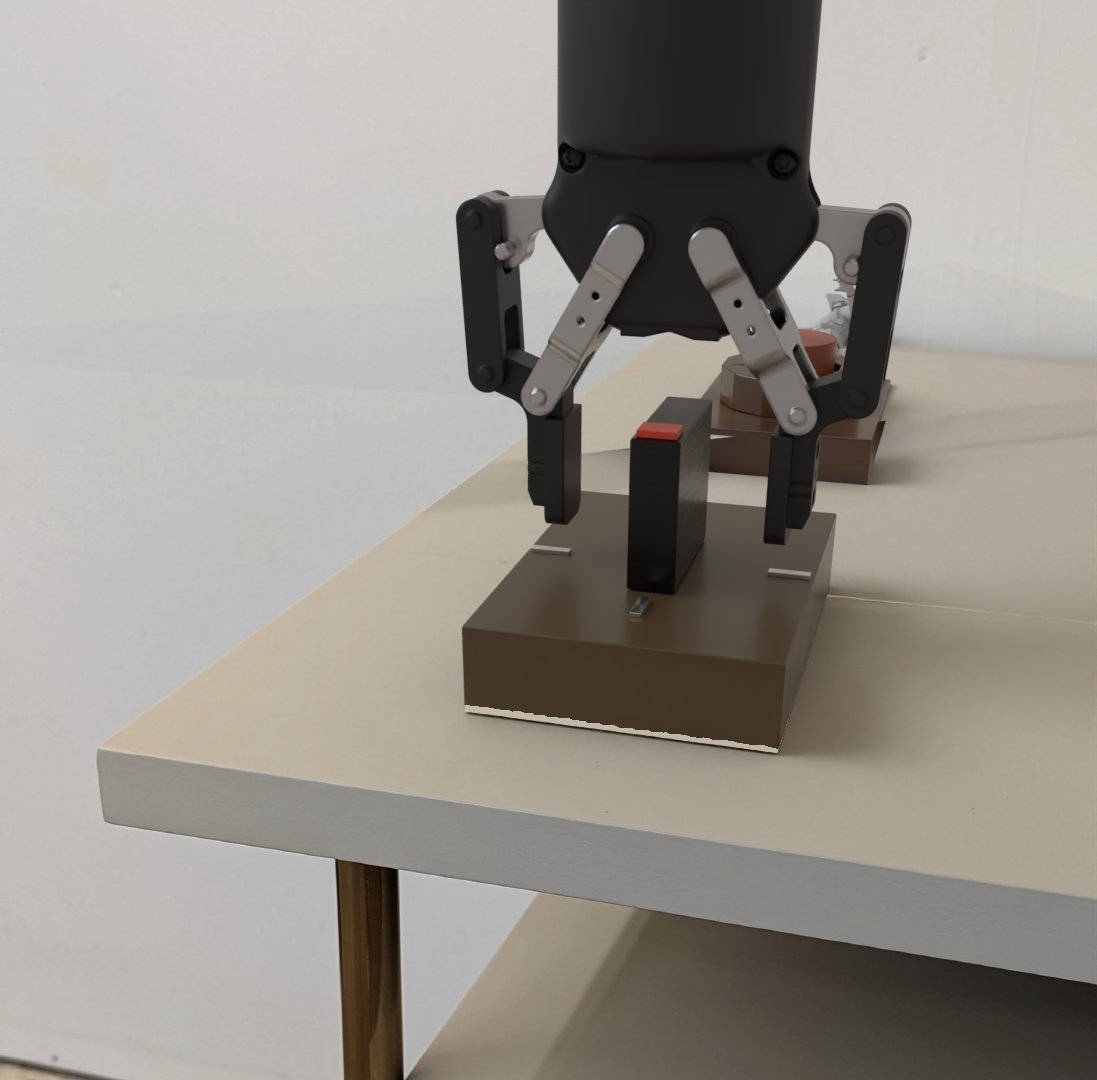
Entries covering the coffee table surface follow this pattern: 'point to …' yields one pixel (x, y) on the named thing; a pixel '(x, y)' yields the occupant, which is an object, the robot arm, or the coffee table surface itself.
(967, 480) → the coffee table surface
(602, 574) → the plate
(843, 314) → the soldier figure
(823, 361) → the red push button
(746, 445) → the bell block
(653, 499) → the battery-shaped black case
